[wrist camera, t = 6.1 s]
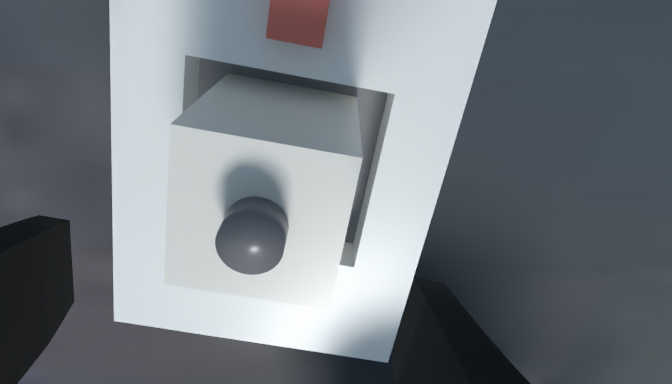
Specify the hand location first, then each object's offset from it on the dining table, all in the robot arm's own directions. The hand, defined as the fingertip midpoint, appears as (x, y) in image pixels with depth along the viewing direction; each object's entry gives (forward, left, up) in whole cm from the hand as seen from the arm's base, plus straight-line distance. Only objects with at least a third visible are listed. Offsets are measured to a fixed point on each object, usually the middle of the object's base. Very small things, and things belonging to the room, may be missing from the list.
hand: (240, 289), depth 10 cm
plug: (0, 0, -8) cm, 8 cm away
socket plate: (0, 0, -9) cm, 9 cm away
